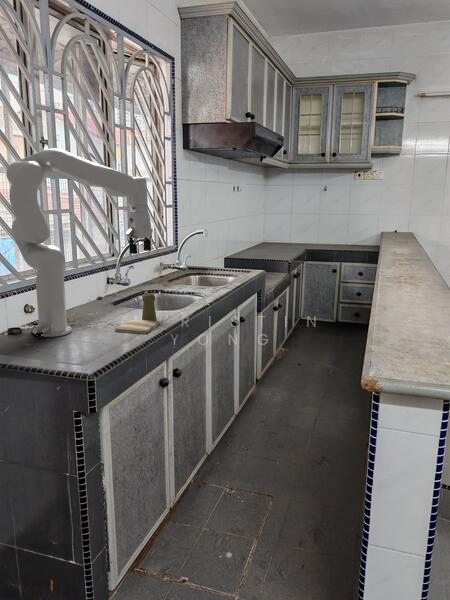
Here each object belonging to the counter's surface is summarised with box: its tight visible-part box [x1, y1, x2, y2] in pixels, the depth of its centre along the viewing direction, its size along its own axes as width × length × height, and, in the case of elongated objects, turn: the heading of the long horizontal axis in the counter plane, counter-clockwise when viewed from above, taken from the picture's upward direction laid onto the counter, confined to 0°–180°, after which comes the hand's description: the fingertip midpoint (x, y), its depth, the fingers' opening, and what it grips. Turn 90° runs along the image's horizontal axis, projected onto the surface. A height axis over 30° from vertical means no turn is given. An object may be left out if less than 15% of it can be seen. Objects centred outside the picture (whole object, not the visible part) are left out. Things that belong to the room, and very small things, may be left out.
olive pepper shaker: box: [141, 292, 158, 321], centre depth 194 cm, size 6×6×11 cm
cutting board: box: [115, 318, 161, 335], centre depth 184 cm, size 14×12×1 cm
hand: (140, 252), depth 198 cm, fingers open, 9 cm apart
